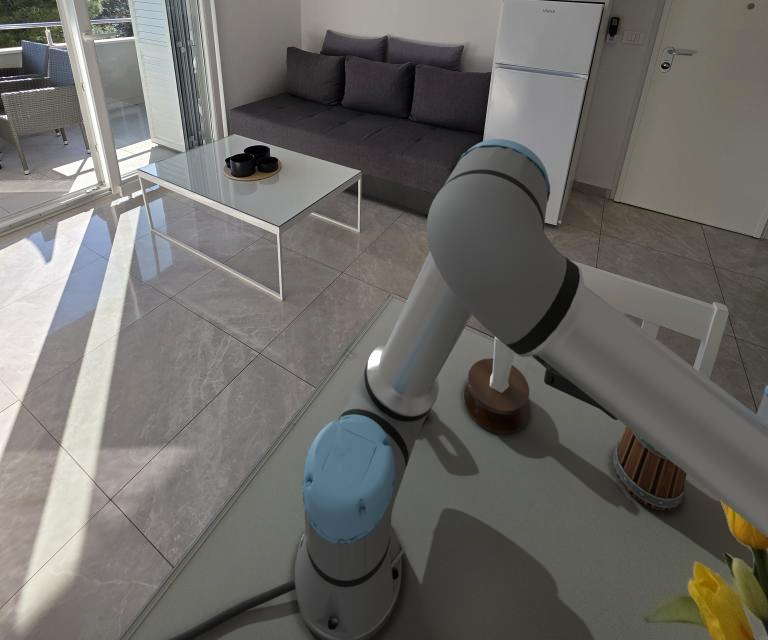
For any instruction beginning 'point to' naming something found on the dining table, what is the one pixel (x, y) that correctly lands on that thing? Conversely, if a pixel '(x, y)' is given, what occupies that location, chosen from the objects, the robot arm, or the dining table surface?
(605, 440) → the dining table surface
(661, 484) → the mug
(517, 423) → the stand
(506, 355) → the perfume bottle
